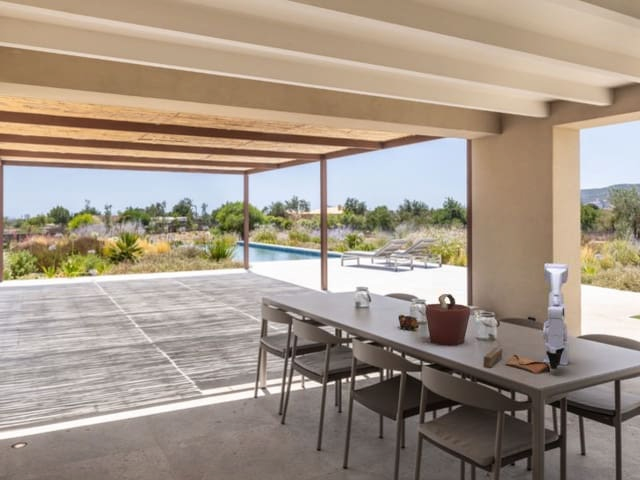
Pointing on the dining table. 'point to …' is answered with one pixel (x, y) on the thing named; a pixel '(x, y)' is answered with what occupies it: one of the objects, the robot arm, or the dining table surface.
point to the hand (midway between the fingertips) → (555, 366)
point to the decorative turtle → (407, 322)
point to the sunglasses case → (528, 365)
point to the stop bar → (492, 357)
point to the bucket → (447, 321)
